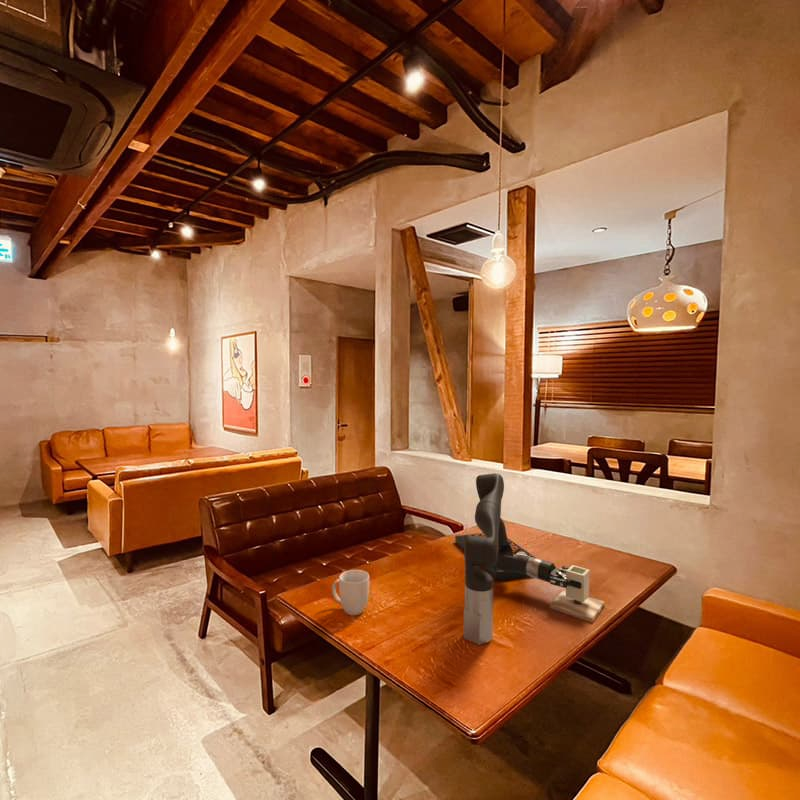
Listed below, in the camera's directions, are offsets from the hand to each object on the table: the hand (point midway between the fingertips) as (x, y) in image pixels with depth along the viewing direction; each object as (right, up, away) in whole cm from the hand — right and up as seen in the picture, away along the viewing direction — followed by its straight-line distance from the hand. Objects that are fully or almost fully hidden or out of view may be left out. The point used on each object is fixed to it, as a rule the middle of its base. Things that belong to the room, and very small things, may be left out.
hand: (584, 582), depth 161 cm
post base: (-2, -10, +2) cm, 10 cm away
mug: (-86, -10, 0) cm, 87 cm away
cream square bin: (-2, -6, +2) cm, 6 cm away
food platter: (-22, -9, +48) cm, 53 cm away
